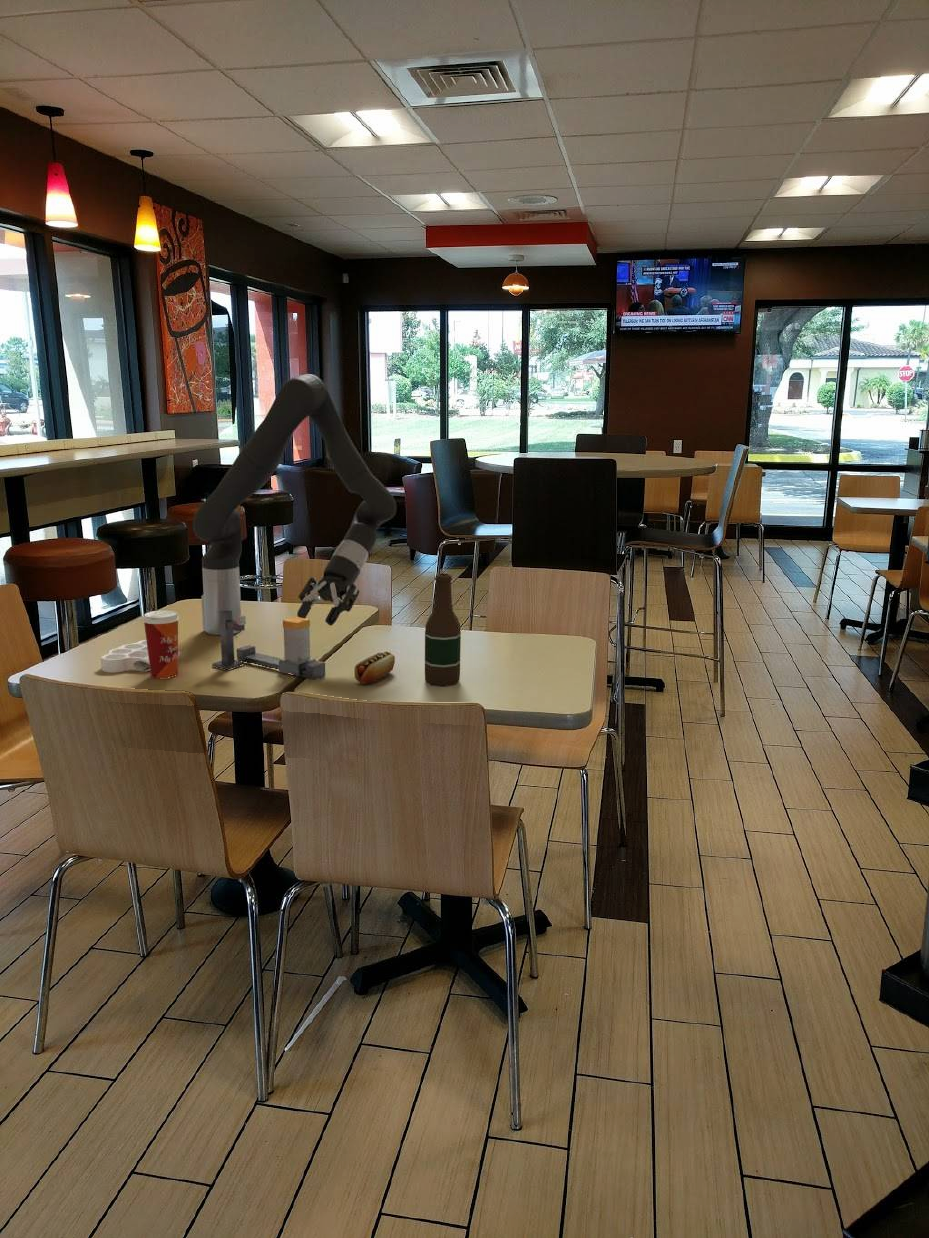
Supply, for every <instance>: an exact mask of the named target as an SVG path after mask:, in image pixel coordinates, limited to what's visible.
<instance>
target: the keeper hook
mask: <svg viewBox="0 0 929 1238" xmlns="http://www.w3.org/2000/svg"><path fill="white" fill-rule="evenodd" d="M219 614H220V635H219V636H220V650H221V652H220V653H221V660H220V661H216V662H213V663H212V664H211V665H212V666H215V667H218V668H217V669H219V668H222V669H221V670H223V669H225V670H224V671H227V670H228V671H230V670H229V669H231V668H234V667H237V666H240V665H242V664H244V665H245V663H244V662H241V661H237V659H235V643H234V641H235V640H234V634H233V630H235V631H240V632H243V631H245V625H246V624H247V619H246V618H247V617H246V615H242V614H241V616H238V617H237V621H233V617H232V611H230V610H223V611H219ZM212 666H211V667H212ZM215 667H214V668H215ZM231 670H232V669H231Z"/></svg>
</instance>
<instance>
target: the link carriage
mask: <svg viewBox="0 0 929 1238" xmlns="http://www.w3.org/2000/svg"><path fill="white" fill-rule="evenodd" d="M310 627H311V620H310V618H309V619H308V618H300V617H298V616H294V617H290V618H286V619H282V628H283V645H284V646H283V647H284V649H283V650H284V653H283V654H284V657H283V658H280V661H279V671H280V672H279V671H278V672H279V673H282V672H284V674H286V673H291V674H293V675H292V676H294V675H296V677H298V678H299V677H300V676H301V674H300V670H301V669H304V668H306V665H308V664H311V663H314V662H317V660H316V658H314V657H313V658H312V657H311V649H310V648H311V641H310V640H311V639H310V635H311V634H310V633H311V632H310Z"/></svg>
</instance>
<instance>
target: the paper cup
mask: <svg viewBox="0 0 929 1238" xmlns="http://www.w3.org/2000/svg"><path fill="white" fill-rule="evenodd" d="M179 620H180V617H179V616H178V612H177V611H175V610H174V611H173V610H153V611H147V612H146V613H144V616H143V619H142V623H144V632H145V638H146V639H145V640H147V648H148V656H149V663H150V666H149V669H150V670H149V671H150V675H151V678H153V679H156V678H159V679H158V680H161V679H160V678H168V677H172V676H175V675H177V674H179V673H178V672H179V657H178V650H179ZM177 676H178V675H177ZM175 677H176V676H175ZM172 678H173V677H172ZM168 679H169V678H168Z"/></svg>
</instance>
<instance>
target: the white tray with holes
mask: <svg viewBox="0 0 929 1238" xmlns="http://www.w3.org/2000/svg"><path fill="white" fill-rule="evenodd" d="M180 656H181V651H180V650H179V649H178V658H179V657H180ZM100 665H101V671H103V672H106V673H121V672H126V671H139V672H149V671H151V670H150V663H149V656H148V648H147V640H146V639H143V640H139V641H137V642H134V643H127V644H123V645H120V646H119V647H117V648H111V650H109V651H107V654H105V655H102V656H101V657H100ZM147 668H148V669H147Z"/></svg>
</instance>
